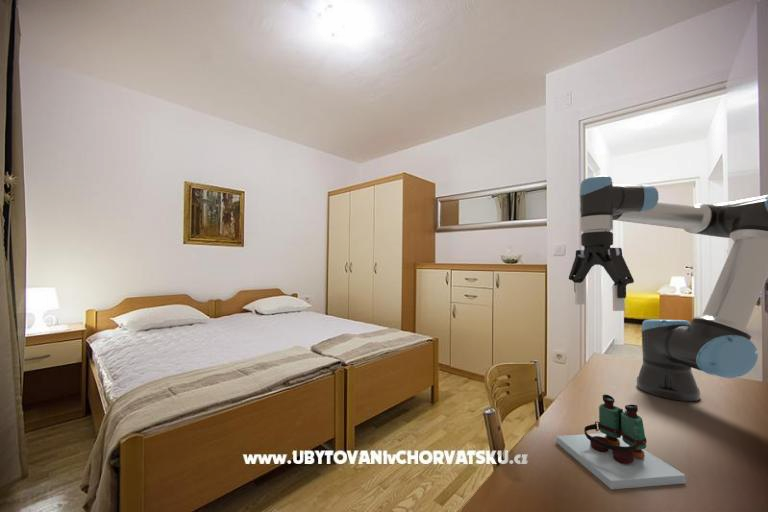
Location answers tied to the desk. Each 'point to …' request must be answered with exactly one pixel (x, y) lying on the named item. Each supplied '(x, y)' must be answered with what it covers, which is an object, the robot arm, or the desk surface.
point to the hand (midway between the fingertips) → (598, 307)
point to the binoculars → (618, 431)
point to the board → (620, 465)
